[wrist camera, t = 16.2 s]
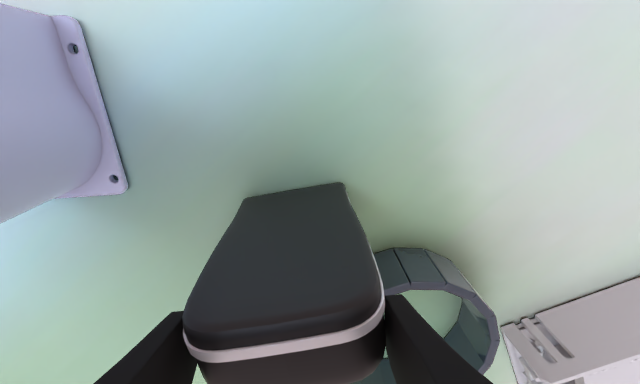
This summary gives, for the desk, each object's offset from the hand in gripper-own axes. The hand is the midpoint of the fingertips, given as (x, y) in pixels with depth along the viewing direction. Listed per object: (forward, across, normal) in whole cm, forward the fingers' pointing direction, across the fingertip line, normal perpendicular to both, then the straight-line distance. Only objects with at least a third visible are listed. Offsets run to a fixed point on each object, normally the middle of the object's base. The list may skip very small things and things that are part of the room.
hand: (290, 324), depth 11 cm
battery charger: (+10, 0, 0) cm, 10 cm away
